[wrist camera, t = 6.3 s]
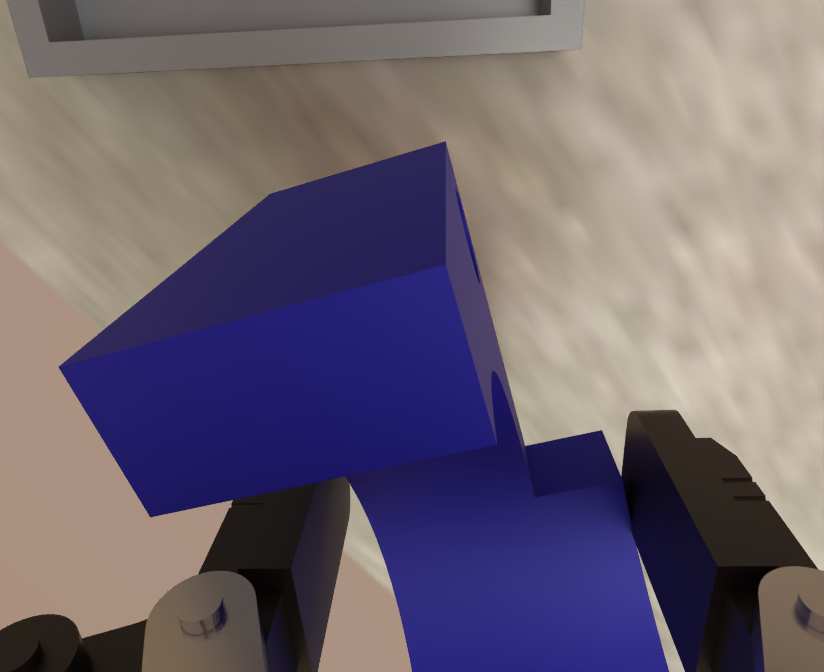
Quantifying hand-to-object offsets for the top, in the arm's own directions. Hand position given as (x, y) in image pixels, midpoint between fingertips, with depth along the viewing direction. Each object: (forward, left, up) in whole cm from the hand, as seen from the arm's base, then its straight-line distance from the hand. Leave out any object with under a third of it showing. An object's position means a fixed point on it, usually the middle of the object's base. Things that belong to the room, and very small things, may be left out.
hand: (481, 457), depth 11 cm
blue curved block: (0, +1, -1) cm, 1 cm away
